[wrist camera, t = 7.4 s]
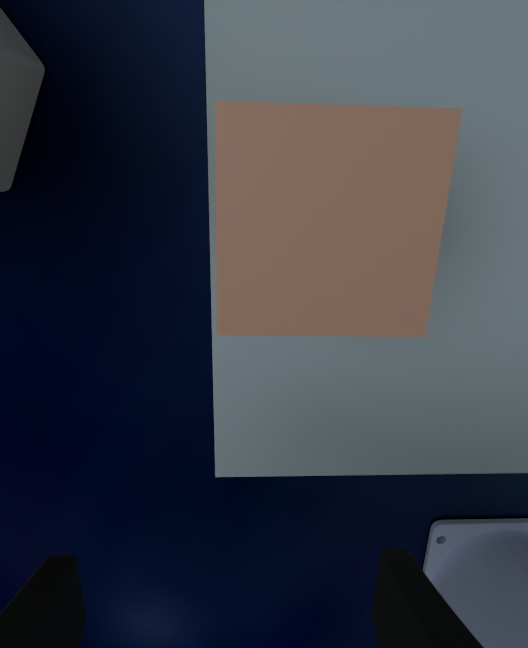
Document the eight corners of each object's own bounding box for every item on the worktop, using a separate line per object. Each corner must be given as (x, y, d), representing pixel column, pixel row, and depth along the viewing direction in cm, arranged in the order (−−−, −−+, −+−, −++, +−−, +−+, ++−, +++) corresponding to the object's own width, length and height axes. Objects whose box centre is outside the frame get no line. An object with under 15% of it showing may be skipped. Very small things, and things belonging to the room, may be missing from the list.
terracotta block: (367, 276, 15) (425, 336, 10) (225, 274, 15) (216, 334, 10) (384, 121, 13) (462, 109, 8) (224, 116, 13) (214, 100, 8)
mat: (537, 467, 23) (542, 472, 23) (216, 471, 23) (215, 477, 22) (668, -9, 16) (679, -13, 16) (204, -26, 15) (203, -30, 15)
